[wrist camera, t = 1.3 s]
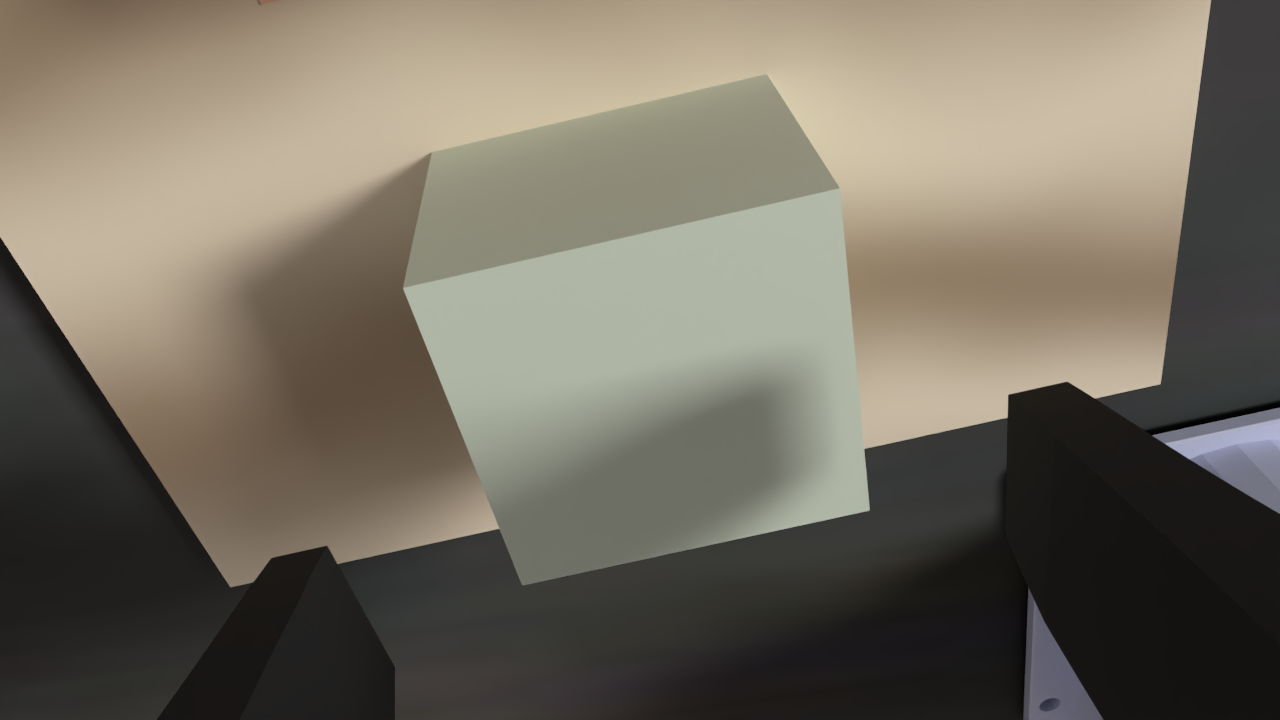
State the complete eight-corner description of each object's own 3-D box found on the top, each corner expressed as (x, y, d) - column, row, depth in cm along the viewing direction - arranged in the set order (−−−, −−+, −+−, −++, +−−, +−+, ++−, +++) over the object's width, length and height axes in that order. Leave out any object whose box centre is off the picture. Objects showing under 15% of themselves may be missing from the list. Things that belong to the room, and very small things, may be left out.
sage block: (803, 351, 17) (869, 510, 14) (523, 414, 17) (522, 585, 14) (766, 74, 14) (839, 188, 11) (431, 152, 14) (402, 287, 11)
